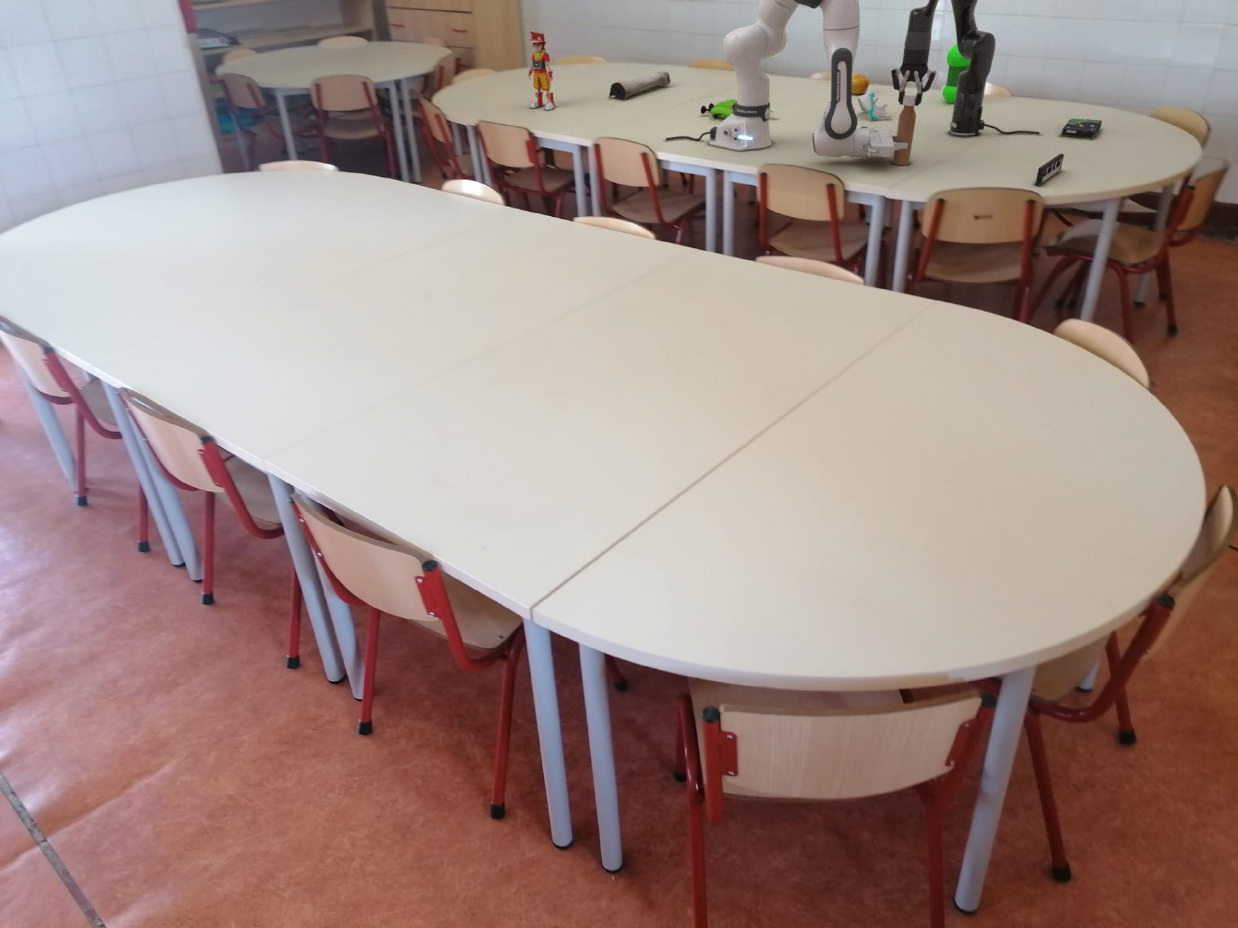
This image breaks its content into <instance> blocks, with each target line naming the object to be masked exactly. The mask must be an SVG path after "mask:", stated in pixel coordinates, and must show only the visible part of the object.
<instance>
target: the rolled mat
mask: <svg viewBox="0 0 1238 928" xmlns="http://www.w3.org/2000/svg"><path fill="white" fill-rule="evenodd" d="M671 83H672V81H671V77H670V74H669V72H668V71H658V72H654V73H649V74H645V75H640V76H637V77H633V78H628V79H623V80H620V81H616V82H613V83H612V84H611V85H610V89H609V95H608V97H609V98H611V97H616V99H620V100H622V101H623V100H626V99H627V98H629V97H630V96H632V95H635V94H636V93H638V92H640V91H643V90H644V89H647V88H650V87H655V86H658V87H659V86H661V87H665V86H669V85H670V84H671Z"/></svg>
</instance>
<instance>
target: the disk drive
mask: <svg viewBox="0 0 1238 928" xmlns="http://www.w3.org/2000/svg"><path fill="white" fill-rule="evenodd" d="M1102 122H1103V120H1100V119H1088V118H1087V119H1084V118H1073V117H1072V118H1070V119H1069V120H1068V121H1067V122H1066V124H1065V125H1064V126H1063V128H1062V131H1061V136H1065V137H1073V138H1082V139H1085V138H1086V139H1094V138H1095V136H1096V135H1097V134H1098V132H1099V130H1100V129H1101V127H1102Z"/></svg>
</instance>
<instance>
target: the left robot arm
mask: <svg viewBox="0 0 1238 928" xmlns="http://www.w3.org/2000/svg"><path fill="white" fill-rule="evenodd" d="M799 5H802V6H806V7H809V8H811V9H813V10H814V9H817V8H820V9H821V11H822V14H823V15H822V17H823V19H822V21H823V22H822V37H823V46H824V52H825V56H826V60H827V63H828V67H829V70H830V101H829V102H828V104H827V105H826V107H825V110H824V112H823V115H822V117H821V119H820V122H819V124H818V125H817V126H816V128H815V129H814V131H812V136H811V137H812V146H813V151H814V154H815V155H816V156H819V157H825V158H841V157H850V158H867V157H868V154H869V155H870V156H871V157H881V158H882V157H884V158H885V157H886V158H887V157H888V158H891V157H893V156H894V150H899V149H907V147H908V143H907V142H902V143H897V142H896V135H897V134H892V132H891V130H890V129H888V128H884V127H868V125H864V126H860V127H859V128H858V116H857V114H856V110H855V107H854V104H853V99H852V98H853V96H852V95H853V94H852V77H853V69H854V64H855V60H856V56H857V50H858V46H859V40H860V30H861V12H860V11H861V10H860V1H859V0H760V1H759V3H758V5H757V13H758V15H759V18H758V20H757V21H755V23H754V24H751V25H747V26H743V27H742V26H741V27H738V28H736V29H733V30H732V31H730V32H729V33H727V34H726V35H725V36H724V38H723V40H722V47H721V49H722V53H723V56H724V58H725V60H726V61H727V62H729V64H730V65H731V66H732V68H733V71H734V73H735V76H736V77H735V78H736V100H737V102H736V103H735V104H733V105H732V106H730V107H731V108H730V109H733V112H732V114H731V115H730V116H728V117H727V118H724V119H723V120H721V122H720V123H718V125H717V126H713V127H711V129H709V131H707V132H703V133H702V134H700V136H699V137H698V138H694V137H691V136H688V135H679V136H671V137H665V140H666V141H670V140H677V139H678V140H679V139H687V140H691V141H695V142H696V141H700V140H702V138H703V137H704V136H706V135H709V143H708V144H709V145H710V146H716V147H719V148H720V147H721V148H725V149H729V150H734V151H739V152H740V151H741V152H742V151H747V150H748V151H749V150H758V149H764V148H768V147H770V146H771V145H772V144H773V142H772V138H771V131H770V118H769V117H771V112H770V110H771V102H770V85H771V81H770V77H769V76H768V74H767V73H765V72H763V70H762V66H761V65H762V64H761V60H763V59H764V60H765V59H767V58H772V57H774V56H776V55H777V54H779V53H780V52H782V51H783V50H784V49H785V48H786V45H787V41H788V34H787V30H786V27H787V25H788V23H789V21H790V19H791V18H792V16H793V14H794V13H795V12H796V9H797V8H798V6H799Z"/></svg>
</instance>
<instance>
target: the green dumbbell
mask: <svg viewBox="0 0 1238 928" xmlns="http://www.w3.org/2000/svg"><path fill="white" fill-rule="evenodd" d="M970 62H971V60H968V59H964V58H963V57H961V55H960V54H959V51H958V46H957V43H956V44H954V45H953V46H952V47H951V48H950V49H949V50H948V52H947V54H946V63H947V64H948V69H947V70H948V71H947V76H946V77H947V78H946V84H945V85H944V87H943V90H942V97H943V99H944V100H945V101H946V102H947V103H948V104H954V103H955V96H956V90H957V83H958V77H959V74H960V73H961V72H963V71H967V70H968V69H969V66H970Z"/></svg>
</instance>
